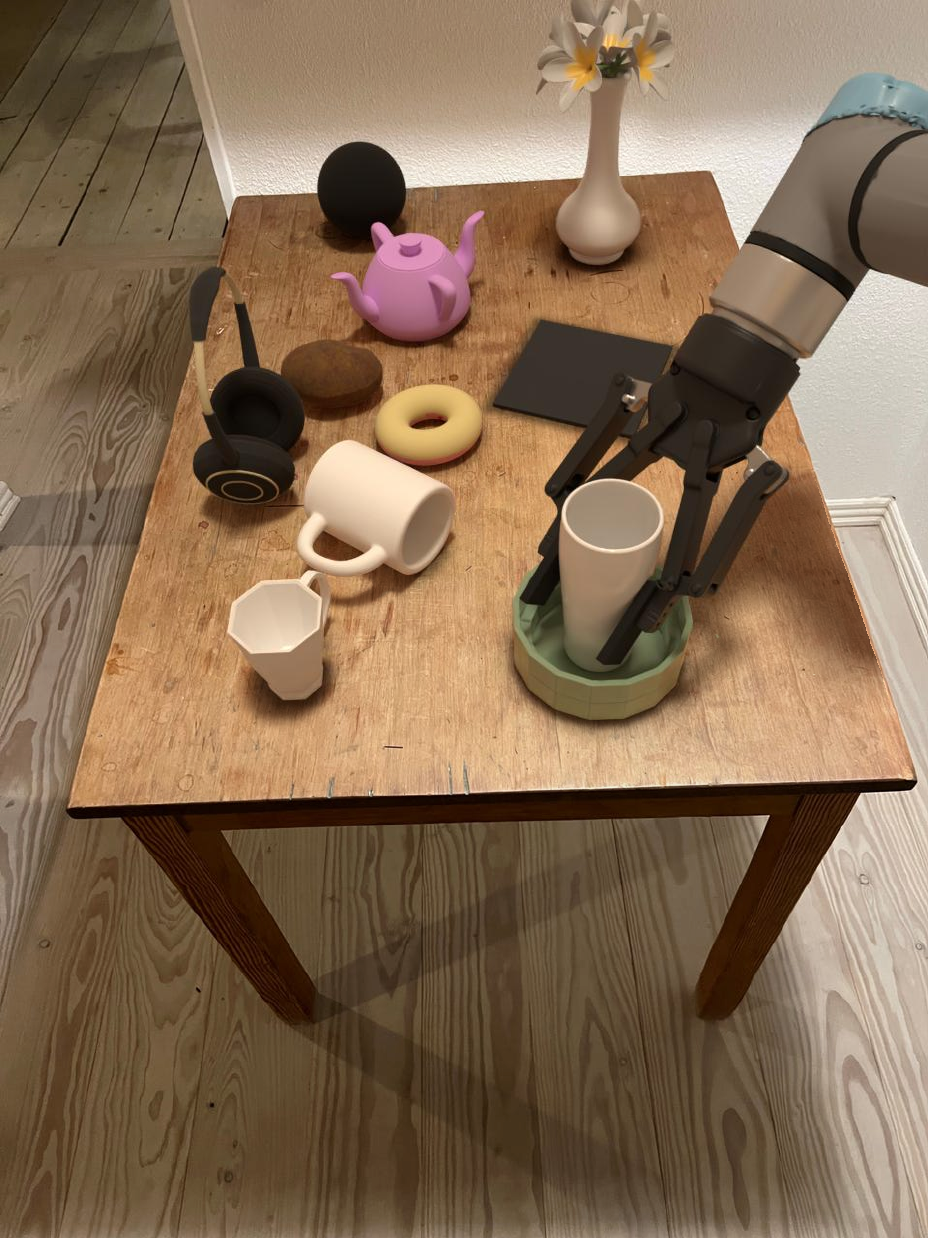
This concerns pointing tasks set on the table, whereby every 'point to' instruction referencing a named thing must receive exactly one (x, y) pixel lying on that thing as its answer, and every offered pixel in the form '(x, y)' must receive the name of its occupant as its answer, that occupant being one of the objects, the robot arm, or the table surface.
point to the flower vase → (604, 113)
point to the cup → (283, 632)
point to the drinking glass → (604, 562)
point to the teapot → (414, 283)
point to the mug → (374, 512)
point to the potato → (332, 373)
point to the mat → (577, 373)
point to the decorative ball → (361, 189)
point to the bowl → (596, 692)
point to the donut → (432, 442)
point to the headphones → (242, 411)
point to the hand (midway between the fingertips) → (569, 630)
